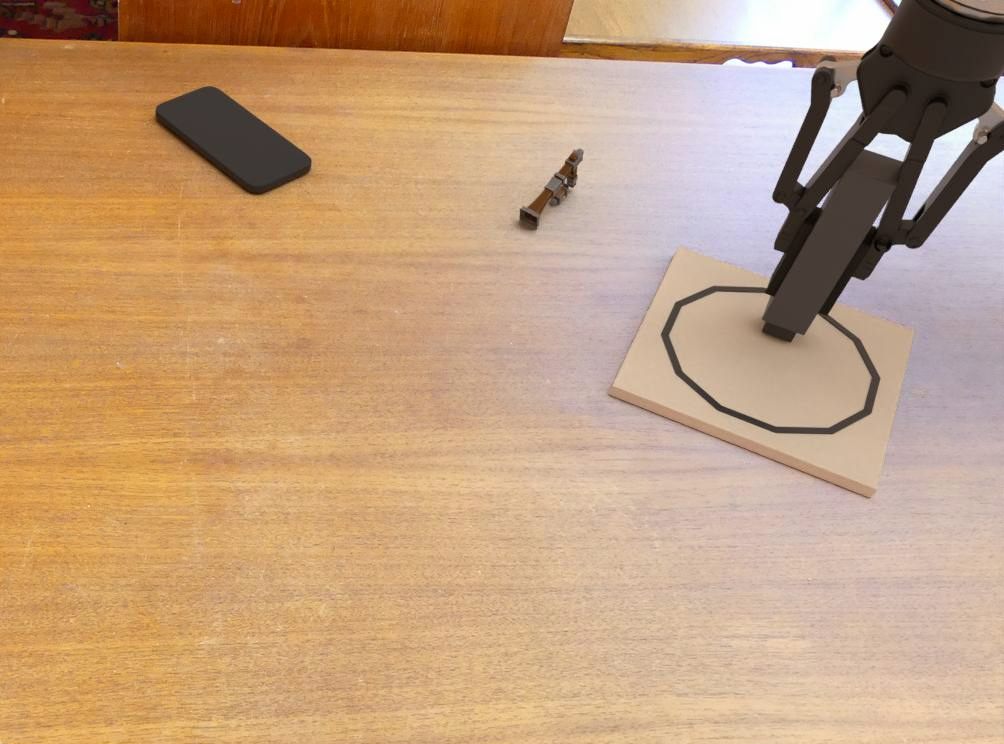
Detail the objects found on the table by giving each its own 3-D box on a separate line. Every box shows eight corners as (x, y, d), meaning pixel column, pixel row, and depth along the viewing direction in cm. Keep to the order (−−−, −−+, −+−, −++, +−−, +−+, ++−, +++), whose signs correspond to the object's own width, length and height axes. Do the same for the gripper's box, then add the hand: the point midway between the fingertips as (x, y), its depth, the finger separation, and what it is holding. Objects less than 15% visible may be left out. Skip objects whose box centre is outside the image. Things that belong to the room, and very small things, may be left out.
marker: (804, 324, 90) (903, 161, 78) (795, 349, 88) (896, 186, 76) (762, 309, 91) (855, 145, 79) (753, 333, 89) (847, 169, 77)
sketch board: (909, 339, 92) (916, 328, 91) (870, 498, 81) (878, 488, 80) (674, 254, 96) (679, 244, 95) (607, 394, 85) (612, 384, 84)
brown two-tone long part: (587, 180, 100) (591, 147, 96) (535, 246, 99) (537, 216, 95) (570, 171, 101) (573, 138, 97) (518, 236, 100) (519, 206, 96)
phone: (255, 189, 96) (149, 107, 102) (254, 198, 97) (149, 115, 103) (317, 161, 99) (212, 82, 105) (316, 169, 100) (211, 91, 106)
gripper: (832, -22, 68) (684, 283, 86) (1117, 62, 64) (898, 362, 83) (852, -69, 72) (707, 233, 91) (1122, 8, 68) (912, 305, 87)
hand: (799, 294), depth 87 cm, fingers closed on marker, 3 cm apart
